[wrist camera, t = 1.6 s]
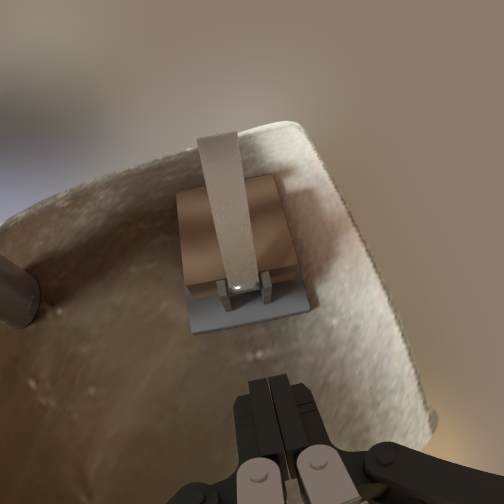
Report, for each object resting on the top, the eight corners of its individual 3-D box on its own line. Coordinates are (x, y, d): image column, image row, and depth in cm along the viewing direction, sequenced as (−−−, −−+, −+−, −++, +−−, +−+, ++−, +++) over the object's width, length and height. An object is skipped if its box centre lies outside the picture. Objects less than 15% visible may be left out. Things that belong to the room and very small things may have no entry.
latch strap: (258, 284, 31) (260, 291, 30) (229, 289, 31) (231, 297, 30) (235, 130, 22) (237, 133, 21) (196, 137, 22) (196, 141, 21)
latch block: (308, 312, 36) (321, 290, 28) (194, 334, 35) (175, 320, 28) (271, 180, 44) (272, 138, 37) (178, 198, 44) (162, 159, 36)
